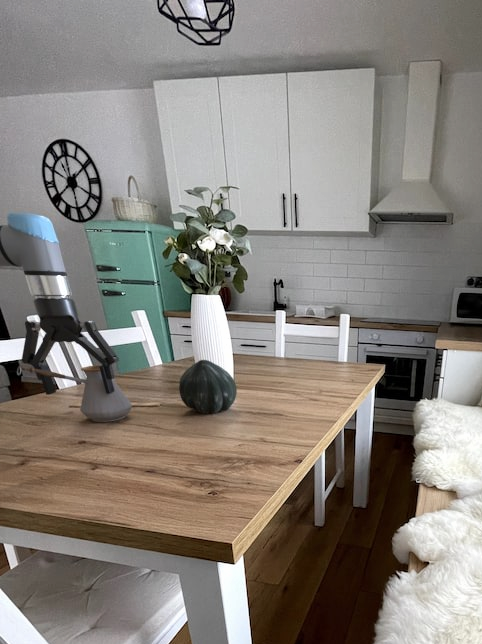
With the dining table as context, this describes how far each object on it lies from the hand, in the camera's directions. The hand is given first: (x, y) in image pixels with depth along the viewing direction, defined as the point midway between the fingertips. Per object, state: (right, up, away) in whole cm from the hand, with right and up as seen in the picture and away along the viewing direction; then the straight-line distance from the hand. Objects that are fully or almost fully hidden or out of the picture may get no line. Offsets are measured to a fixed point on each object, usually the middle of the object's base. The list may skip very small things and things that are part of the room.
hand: (81, 393), depth 96 cm
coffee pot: (0, -7, +3) cm, 8 cm away
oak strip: (-2, 0, +17) cm, 18 cm away
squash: (+26, -2, +15) cm, 30 cm away
